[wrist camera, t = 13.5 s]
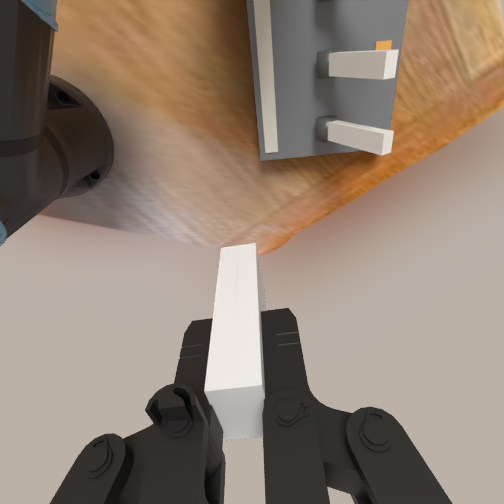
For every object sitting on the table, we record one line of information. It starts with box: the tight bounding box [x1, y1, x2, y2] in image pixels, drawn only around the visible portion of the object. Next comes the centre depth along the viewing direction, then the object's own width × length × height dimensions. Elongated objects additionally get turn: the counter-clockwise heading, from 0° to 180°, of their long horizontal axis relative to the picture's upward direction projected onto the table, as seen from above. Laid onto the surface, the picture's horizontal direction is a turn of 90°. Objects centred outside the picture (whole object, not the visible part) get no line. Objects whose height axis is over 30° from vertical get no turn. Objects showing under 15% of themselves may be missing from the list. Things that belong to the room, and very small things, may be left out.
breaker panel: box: [246, 0, 408, 161], centre depth 35 cm, size 16×20×3 cm
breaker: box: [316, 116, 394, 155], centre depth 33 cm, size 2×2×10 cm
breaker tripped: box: [317, 49, 399, 80], centre depth 29 cm, size 2×2×10 cm
